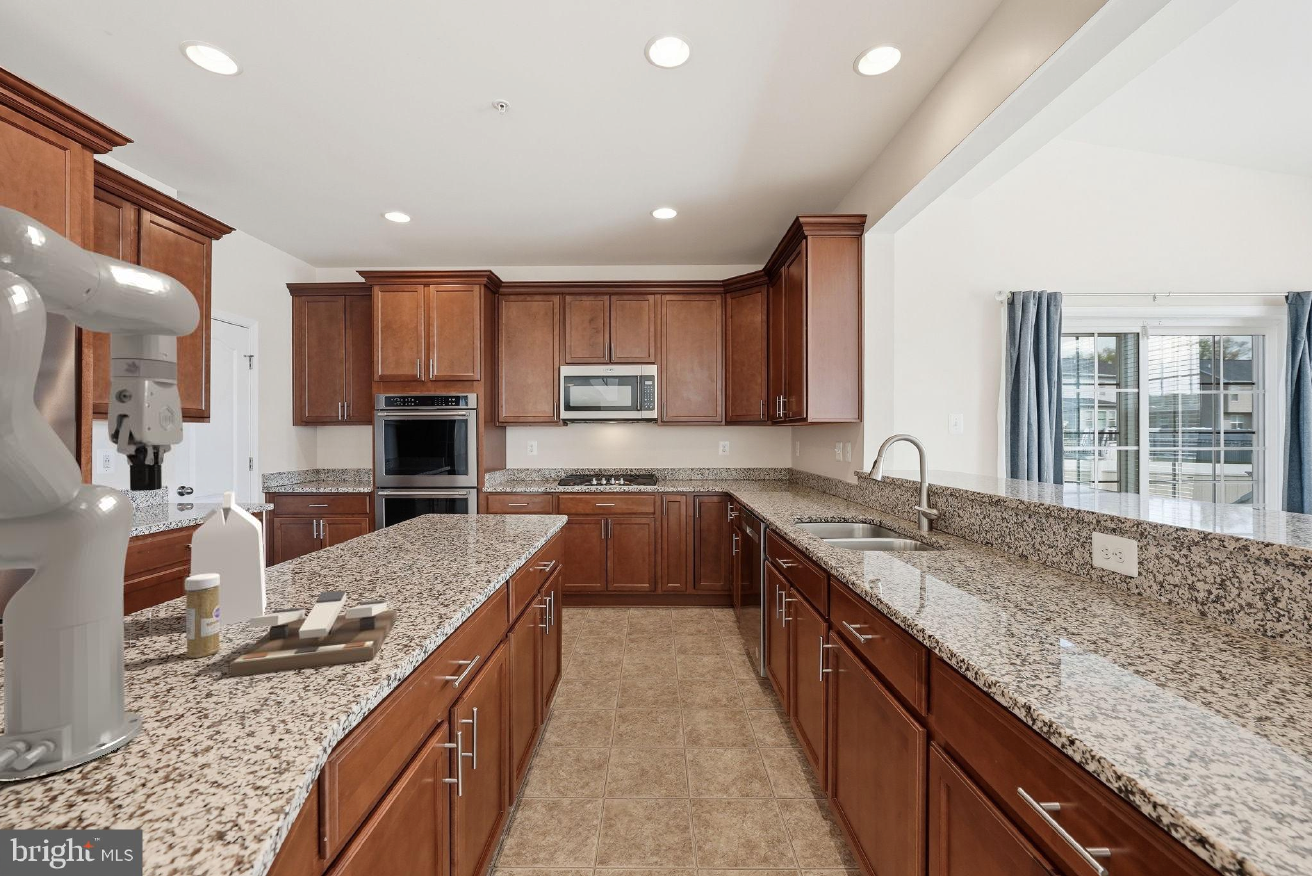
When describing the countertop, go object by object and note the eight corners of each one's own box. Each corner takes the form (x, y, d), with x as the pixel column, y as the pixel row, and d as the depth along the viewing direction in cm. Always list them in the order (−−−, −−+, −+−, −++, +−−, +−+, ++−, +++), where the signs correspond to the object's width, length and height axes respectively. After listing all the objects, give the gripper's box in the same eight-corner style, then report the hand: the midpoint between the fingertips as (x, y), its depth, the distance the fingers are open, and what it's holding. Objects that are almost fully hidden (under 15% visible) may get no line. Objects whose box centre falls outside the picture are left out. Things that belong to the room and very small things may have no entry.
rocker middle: (326, 635, 88) (325, 625, 88) (299, 638, 87) (298, 628, 87) (346, 598, 100) (345, 589, 99) (322, 600, 99) (321, 591, 98)
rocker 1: (277, 624, 86) (278, 612, 87) (249, 627, 85) (250, 615, 85) (304, 617, 97) (304, 607, 98) (279, 619, 96) (280, 609, 97)
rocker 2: (371, 616, 90) (372, 604, 90) (345, 618, 89) (346, 606, 89) (386, 609, 101) (387, 599, 102) (363, 611, 100) (364, 601, 101)
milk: (263, 619, 107) (261, 493, 107) (188, 631, 100) (187, 497, 100) (266, 604, 117) (265, 488, 117) (198, 614, 110) (197, 492, 110)
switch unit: (372, 659, 86) (372, 635, 86) (230, 676, 81) (229, 650, 81) (396, 619, 106) (396, 600, 106) (282, 630, 100) (282, 610, 100)
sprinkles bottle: (218, 654, 89) (217, 576, 89) (183, 661, 87) (182, 580, 87) (222, 645, 93) (221, 570, 93) (188, 652, 91) (187, 574, 91)
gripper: (142, 368, 76) (144, 493, 76) (200, 379, 90) (201, 485, 90) (77, 366, 74) (78, 496, 74) (146, 378, 88) (148, 486, 88)
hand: (146, 489), depth 82 cm, fingers closed
